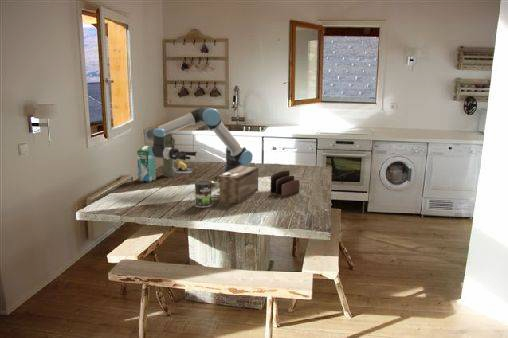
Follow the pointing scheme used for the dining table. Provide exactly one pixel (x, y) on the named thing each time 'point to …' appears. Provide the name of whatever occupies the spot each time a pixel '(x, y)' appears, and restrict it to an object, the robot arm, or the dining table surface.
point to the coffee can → (203, 194)
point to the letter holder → (283, 184)
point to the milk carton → (146, 165)
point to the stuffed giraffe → (182, 167)
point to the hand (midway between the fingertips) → (200, 157)
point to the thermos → (169, 164)
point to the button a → (214, 184)
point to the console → (238, 184)
